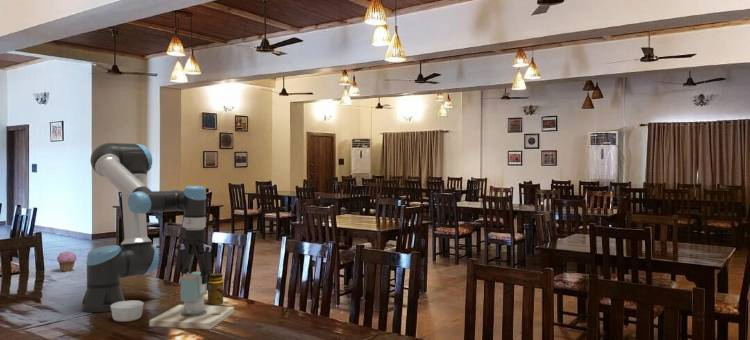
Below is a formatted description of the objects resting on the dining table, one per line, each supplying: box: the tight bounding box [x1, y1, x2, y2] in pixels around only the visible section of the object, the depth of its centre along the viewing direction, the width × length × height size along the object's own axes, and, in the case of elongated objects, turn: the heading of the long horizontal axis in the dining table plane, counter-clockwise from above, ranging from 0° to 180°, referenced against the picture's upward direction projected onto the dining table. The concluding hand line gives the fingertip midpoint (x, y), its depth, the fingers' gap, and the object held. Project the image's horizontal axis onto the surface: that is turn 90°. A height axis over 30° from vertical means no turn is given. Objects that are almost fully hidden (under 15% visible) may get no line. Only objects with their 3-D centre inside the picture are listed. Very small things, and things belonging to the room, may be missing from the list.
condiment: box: [204, 272, 227, 306], centre depth 224 cm, size 7×8×12 cm
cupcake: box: [56, 251, 77, 273], centre depth 285 cm, size 9×9×10 cm
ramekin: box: [110, 299, 145, 323], centre depth 201 cm, size 11×11×5 cm
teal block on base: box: [179, 271, 208, 314], centre depth 202 cm, size 12×7×14 cm, turn 176°
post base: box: [148, 304, 235, 330], centre depth 202 cm, size 22×22×2 cm
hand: (194, 291), depth 202 cm, fingers closed on teal block on base, 6 cm apart
